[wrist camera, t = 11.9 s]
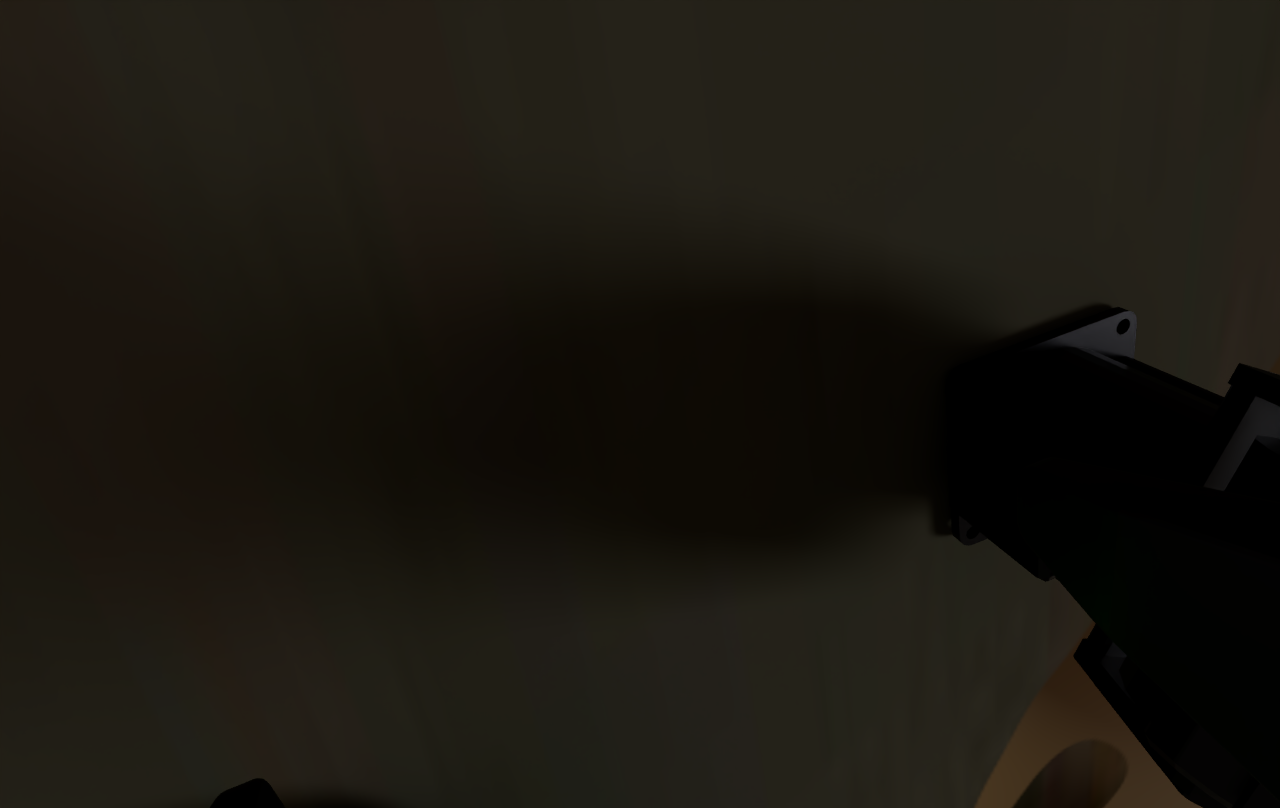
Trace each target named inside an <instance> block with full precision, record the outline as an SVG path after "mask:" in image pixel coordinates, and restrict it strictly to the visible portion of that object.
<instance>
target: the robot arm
mask: <svg viewBox="0 0 1280 808" xmlns="http://www.w3.org/2000/svg"><path fill="white" fill-rule="evenodd" d="M1117 325H1118V326H1117ZM1136 325H1137V319H1136V315H1135V314H1134V313H1133V312H1131V311H1128V310H1125V309H1123V308H1120V307H1116V308H1112V309H1109V310H1107V311H1104V312H1101V313H1099V314H1096V315H1093V316H1090V317H1088V318H1085V319H1082V320H1080V321H1077V322H1074V323H1072V324H1069V325H1066V326H1063V327H1061V328H1058V329H1055V330H1053V331H1050V332H1047V333H1045V334H1042V335H1039V336H1037V337H1034V338H1031V339H1028V340H1026V341H1023V342H1020V343H1018V344H1015V345H1012V346H1010V347H1007V348H1004V349H1002V350H999V351H996V352H993V353H991V354H988V355H985V356H983V357H980V358H977V359H975V360H972V361H969V362H966V363H964V364H961V365H959V366H957V367H955V368H954V369H953V370H952V371H951V372H950V373H949V375H948V377H947V379H946V406H947V429H948V443H947V464H948V487H949V506H950V508H951V521H952V533H953V536H954V537H955V538H957V539H958V540H959V541H960V542H961V543H963V544H964V545H973V544H975V543H978V542H980V541H983V540H985V539H987V538H988V539H989V540H990V541H992V542H993V543H994V544H995V545H997V546H998V547H999V548H1000V549H1002V550H1003V551H1004V552H1005V553H1007V554H1008V555H1009V556H1010V557H1012V558H1013V559H1014V560H1015V561H1017V562H1018V563H1019V564H1020V565H1022V566H1023V567H1024V568H1025V569H1027V570H1028V571H1029V572H1030V573H1032V574H1033V575H1034V576H1035V577H1037V578H1039V579H1041V580H1043V581H1045V582H1046V581H1050V580H1052V579H1054V578H1056V579H1057V580H1058V581H1060V583H1061V584H1062V585H1063V586H1064V587H1065V588H1066V590H1067V591H1068V592H1069V593H1070V594H1071V595H1072V597H1073V598H1074V599H1075V600H1076V601H1077V602H1078V604H1079V605H1080V606H1081V607H1082V608H1083V609H1084V610H1085V612H1086V613H1087V614H1088V615H1089V616H1090V617H1091V619H1092V620H1093V621H1094V622H1095V623H1096V624H1095V626H1094V628H1093V630H1092V631H1091V633H1090V635H1089V636H1088V638H1087V639H1082V641H1081V643H1080V645H1079V646H1078V648H1077V650H1076V652H1075V653H1074V658H1075V660H1076V661H1077V662H1078V663H1079V665H1080V666H1081V667H1082V668H1083V670H1084V671H1085V672H1086V674H1087V675H1088V676H1089V678H1090V679H1091V680H1092V681H1093V683H1094V684H1095V686H1096V687H1097V688H1098V689H1099V691H1101V693H1102V694H1103V696H1104V697H1105V698H1106V700H1107V701H1108V702H1109V703H1110V705H1111V706H1112V707H1113V708H1114V710H1115V711H1116V712H1117V714H1118V715H1119V716H1120V717H1121V719H1122V720H1123V721H1124V723H1125V724H1126V725H1127V726H1128V728H1129V729H1130V730H1131V732H1133V734H1134V735H1135V737H1136V738H1137V739H1138V740H1139V742H1140V743H1141V744H1142V746H1143V747H1144V748H1145V750H1146V751H1147V752H1148V753H1149V755H1150V756H1151V757H1152V759H1153V760H1154V761H1155V762H1156V764H1157V765H1158V766H1159V767H1160V768H1161V770H1162V771H1163V772H1164V773H1165V775H1166V776H1167V777H1168V778H1169V780H1170V781H1171V782H1172V784H1173V785H1174V786H1175V787H1176V789H1177V790H1178V791H1179V792H1180V793H1181V794H1182V795H1183V796H1184V797H1185V798H1187V799H1188V800H1190V801H1191V802H1193V803H1195V804H1197V805H1199V806H1201V807H1203V808H1280V375H1278V374H1275V373H1272V372H1268V371H1265V370H1262V369H1258V368H1255V367H1251V366H1248V365H1245V364H1241V363H1239V364H1238V366H1237V368H1236V369H1235V371H1234V373H1233V375H1232V376H1231V378H1230V380H1229V382H1228V383H1229V384H1231V387H1230V389H1229V390H1228V392H1227V394H1226V396H1225V397H1222V396H1220V395H1217V394H1215V393H1213V392H1210V391H1208V390H1206V389H1203V388H1201V387H1199V386H1196V385H1194V384H1192V383H1189V382H1187V381H1184V380H1182V379H1180V378H1177V377H1175V376H1173V375H1170V374H1168V373H1166V372H1163V371H1161V370H1159V369H1156V368H1154V367H1152V366H1149V365H1147V364H1144V363H1142V362H1140V361H1137V360H1135V359H1134V350H1135V338H1136ZM965 379H967V382H966V383H965V384H964V385H963V386H962V383H963V382H964V380H965ZM969 528H970V529H969ZM210 808H285V807H284V805H283V804H282V802H281V801H280V799H279V798H278V796H277V795H276V793H275V791H274V790H273V788H272V787H271V785H270V784H269V783H268V782H267V781H265V780H264V779H261V778H257V779H253V780H250V781H248V782H246V783H243V784H241V785H238V786H236V787H233V788H231V789H228V790H226V791H224V792H223V793H221V794H220V795H219V796H218V797H217V798H216V799H215V801H214V802H213V804H212V805H211V807H210Z"/></svg>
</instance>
